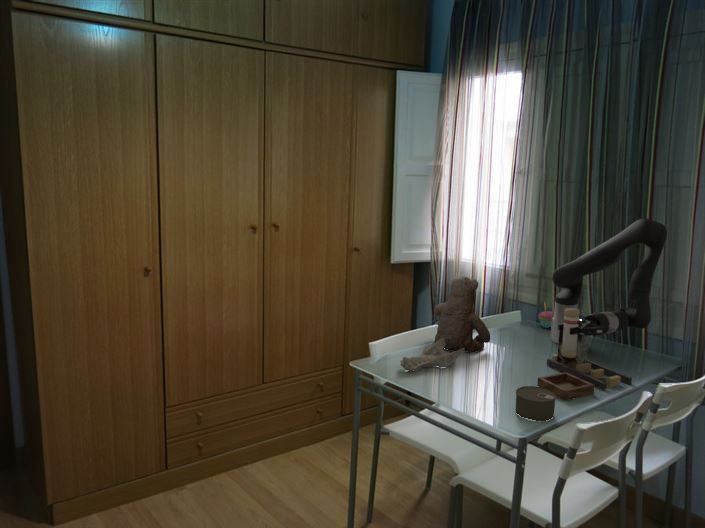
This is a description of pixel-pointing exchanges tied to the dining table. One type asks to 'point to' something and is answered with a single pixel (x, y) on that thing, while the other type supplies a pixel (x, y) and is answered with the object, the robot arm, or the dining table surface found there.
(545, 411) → the can
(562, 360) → the coffee box
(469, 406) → the dining table surface
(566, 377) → the tray
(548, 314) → the cupcake
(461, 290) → the toy
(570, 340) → the fuse
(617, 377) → the block
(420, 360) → the skull
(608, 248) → the robot arm
